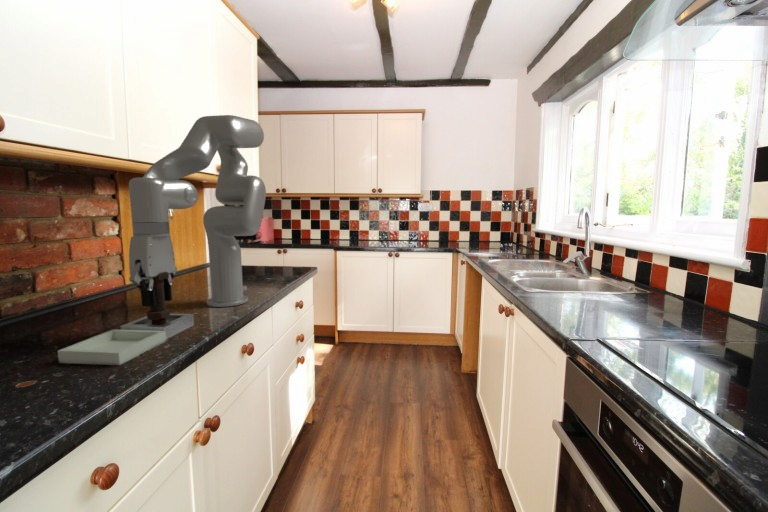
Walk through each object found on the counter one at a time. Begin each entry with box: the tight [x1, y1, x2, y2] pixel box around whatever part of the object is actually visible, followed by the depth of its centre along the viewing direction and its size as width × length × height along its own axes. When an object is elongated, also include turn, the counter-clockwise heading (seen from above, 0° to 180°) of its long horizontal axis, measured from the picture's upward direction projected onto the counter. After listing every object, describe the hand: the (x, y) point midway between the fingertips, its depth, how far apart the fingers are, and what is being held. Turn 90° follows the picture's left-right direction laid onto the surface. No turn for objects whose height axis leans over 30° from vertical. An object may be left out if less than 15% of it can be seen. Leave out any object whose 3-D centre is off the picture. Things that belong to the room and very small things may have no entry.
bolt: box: [144, 272, 170, 325], centre depth 88 cm, size 6×5×15 cm
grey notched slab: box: [120, 312, 195, 340], centre depth 89 cm, size 11×11×3 cm
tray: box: [57, 328, 167, 366], centre depth 76 cm, size 13×13×2 cm
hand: (157, 302), depth 88 cm, fingers closed on bolt, 4 cm apart
